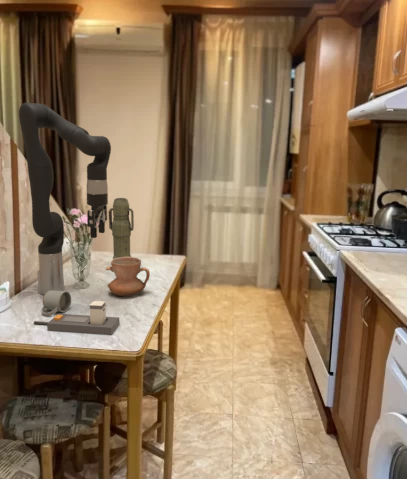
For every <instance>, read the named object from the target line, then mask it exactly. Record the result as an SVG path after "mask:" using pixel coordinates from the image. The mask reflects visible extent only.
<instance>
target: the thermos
mask: <svg viewBox="0 0 407 479" xmlns="http://www.w3.org/2000/svg"><path fill="white" fill-rule="evenodd" d="M112 202H113V203H112V207H111V208H110V209H109V210H108V223H109V224H108V227H109V230H111V235H112V237H113V238H112V239H113V241H112V242H113V256H112V260H113V259H115V258H120V257H132V255H131V235H132V231H134V223H135V222H134V210H133V209H132V208H130V203H129V201H128V198H125V197H117V198H115V199H114V200H113V201H112ZM130 213H131V214H130Z"/></svg>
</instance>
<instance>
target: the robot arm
mask: <svg viewBox="0 0 407 479" xmlns="http://www.w3.org/2000/svg"><path fill="white" fill-rule="evenodd" d="M18 119H19V120H18V121H19V124H20V130H21V133H22V137H23V141H24V142H23V143H24V148H25V155H26V165H27V174H28V180H29V186H30V195H31V196H30V198H31V212H32V213H31V214H32V216H31V218H32V222H31V223H32V229H33V232H34V233H35V234H36V235H37V236H38V237H40V238H42V240H41V242H40V243H39V244H38V246H37V249H38V251H37V252H38V268H39V270H37V272H36V274H37V286H38V288H37V289H38V294H39V295H40V294H41V295H43V296H44V295H45V293H46V292H48V291H52V290H53V291H65V282H64V263H63V262H64V260H63V245H64V242H65V241H64V240H65V236H64V235H65V229H64V228H65V226H64V219H63V217H62V216H61V214H60V213H58V212H57V211H51V206H50V198H51V193H52V190H53V187H54V183H55V182H54V181H55V180H54V179H55V178H54V176H55V175H54V168H53V167H54V166H53V162H52V159H51V158H50V156H49V154H48V153H47V151H46V149H45V148H44V147H43V145H42V143H41V140H40V137H39V132H38V131H39V130H38V129H43V128H45V129H49V130H52V131H55V132H56V133H57V134H58V135H59V136H58V137H60V138H61V139H62V140H63V141H65V142H67V143H69V144H70V145H73V146H75V147H76V148H77V149H78V150H79V151H80V152H81V153H83V154H84V155H87V156H89V157H94V158H93V161H91V162H90V163H88V164H87V165H86V205H88V206H91V207H90V209H87V213H86V214H87V216H86V217H87V221H86V224H87V225H86V226H87V227H88V228H89V230H90V238H91V239H92V238H93V239H96V238H98V233H99V234H104V233H106V227H105V226H106V223H107V221H108V209H107V208H108V206H107V205H108V204H109V203H108V202H109V201H108V200H109V198H108V197H109V195H108V194H109V192H108V190H109V189H108V188H109V187H108V171H107V169H108V165H109V162H110V156H111V151H112V146H111V142H110V139H108V137H106V136H103V135H91V134H90V133H89V131H87V129H85V128H83V127H81V126H79V125H77V124H75V123H72V122H70V121H69V120H67V119H65V118H64V117H63V116H61V115H59V113H57V112H56V111H54V109H52V108H50V107H49V106H47V104H44V103H38V102H37V103H36V102H35V103H33V102H24V103H22V104H20V106H19V110H18Z"/></svg>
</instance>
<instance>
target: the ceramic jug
mask: <svg viewBox="0 0 407 479" xmlns="http://www.w3.org/2000/svg"><path fill="white" fill-rule="evenodd" d="M110 263H111V266H110V265H109V266H106V267H105V271H111V272H112V273H113V274H114V276H115V278H114V279H113V280H111V281H110V282H109V283H108V284H107V288H108V289H109V291H110V293H112V294H113V295H116V296H120V297H131V296H134V295H138V294H139V293H141V292H143V291H144V289H145V288H146V286H147V285H146V284H147V282H149V280H150V276H151V274H150V273H151V272H150V270H149V268H148V267H141V266H142V259H141V258H138V257H134V256H131V257H120V258H115V259H113V258H112V260H111V261H110ZM141 272H145V273H146V278H145V280H144V282H143V281H142V280H141V279H140V278H138V277H137V276H138V274H140V273H141Z"/></svg>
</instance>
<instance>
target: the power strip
mask: <svg viewBox="0 0 407 479" xmlns="http://www.w3.org/2000/svg"><path fill="white" fill-rule="evenodd" d="M120 322H121V320H120V317H119V316H117V317H116V316H106V323H105V324H104V325H95V324H90V314H87V315H86V314H70V313H57V314H56V315H55V316H54V317H52V318H51V320H49V321H40V320H37V321H36V320H34V321H33V324H34V325H40V326H41V325H43V326H45V325H46V326H47V327H46V330H47V331H49V332H64V333H77V334H79V333H80V334H90V335H91V334H94V335H95V334H96V335H107V336H108V335H110V336H112V335H113V334H114V332H115V331H116V330H117V328H118V327H119V325H120Z"/></svg>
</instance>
